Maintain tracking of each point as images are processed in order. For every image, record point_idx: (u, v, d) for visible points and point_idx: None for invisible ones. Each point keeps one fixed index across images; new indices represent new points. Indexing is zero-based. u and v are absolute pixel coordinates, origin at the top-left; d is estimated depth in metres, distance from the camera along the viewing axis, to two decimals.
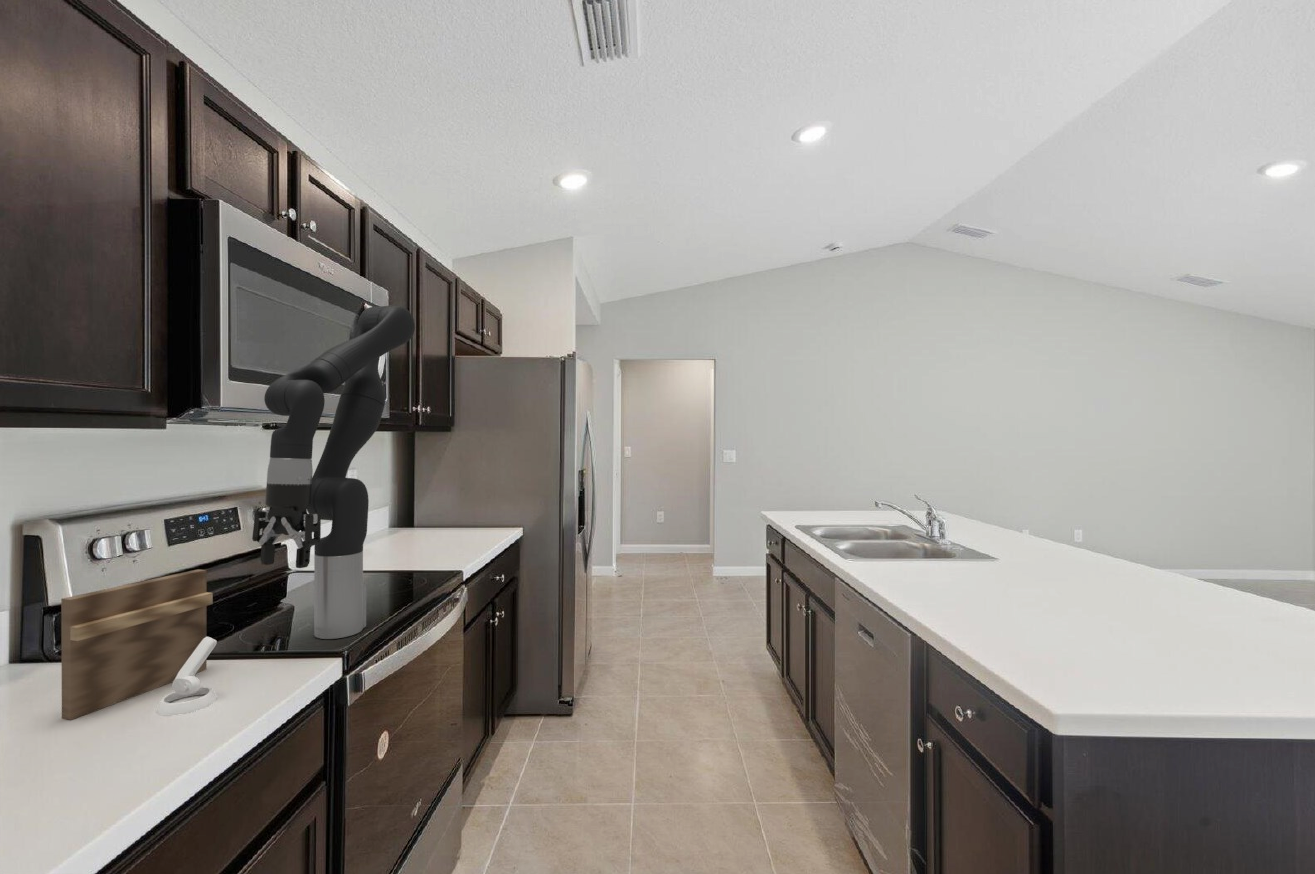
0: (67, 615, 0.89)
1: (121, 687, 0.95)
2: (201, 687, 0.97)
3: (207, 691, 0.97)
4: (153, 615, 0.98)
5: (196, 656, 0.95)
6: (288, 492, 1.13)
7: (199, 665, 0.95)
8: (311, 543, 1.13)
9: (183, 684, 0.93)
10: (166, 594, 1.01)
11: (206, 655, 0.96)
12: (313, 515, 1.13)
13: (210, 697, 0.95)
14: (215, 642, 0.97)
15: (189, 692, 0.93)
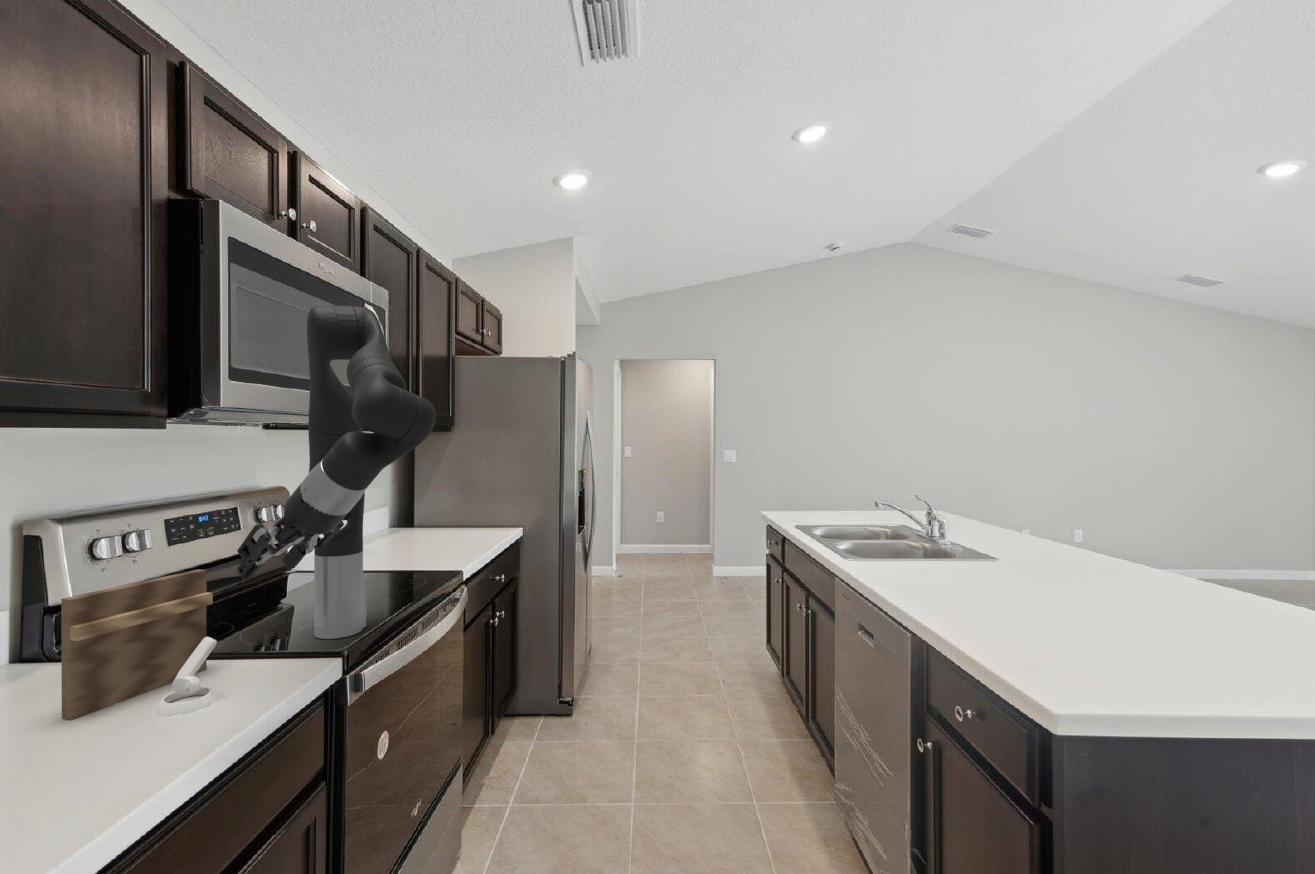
0: (67, 615, 0.89)
1: (121, 687, 0.95)
2: (201, 687, 0.97)
3: (207, 691, 0.97)
4: (153, 615, 0.98)
5: (196, 656, 0.95)
6: None
7: (199, 665, 0.95)
8: None
9: (183, 684, 0.93)
10: (166, 594, 1.01)
11: (206, 655, 0.96)
12: None
13: (210, 697, 0.95)
14: (215, 642, 0.97)
15: (189, 692, 0.93)
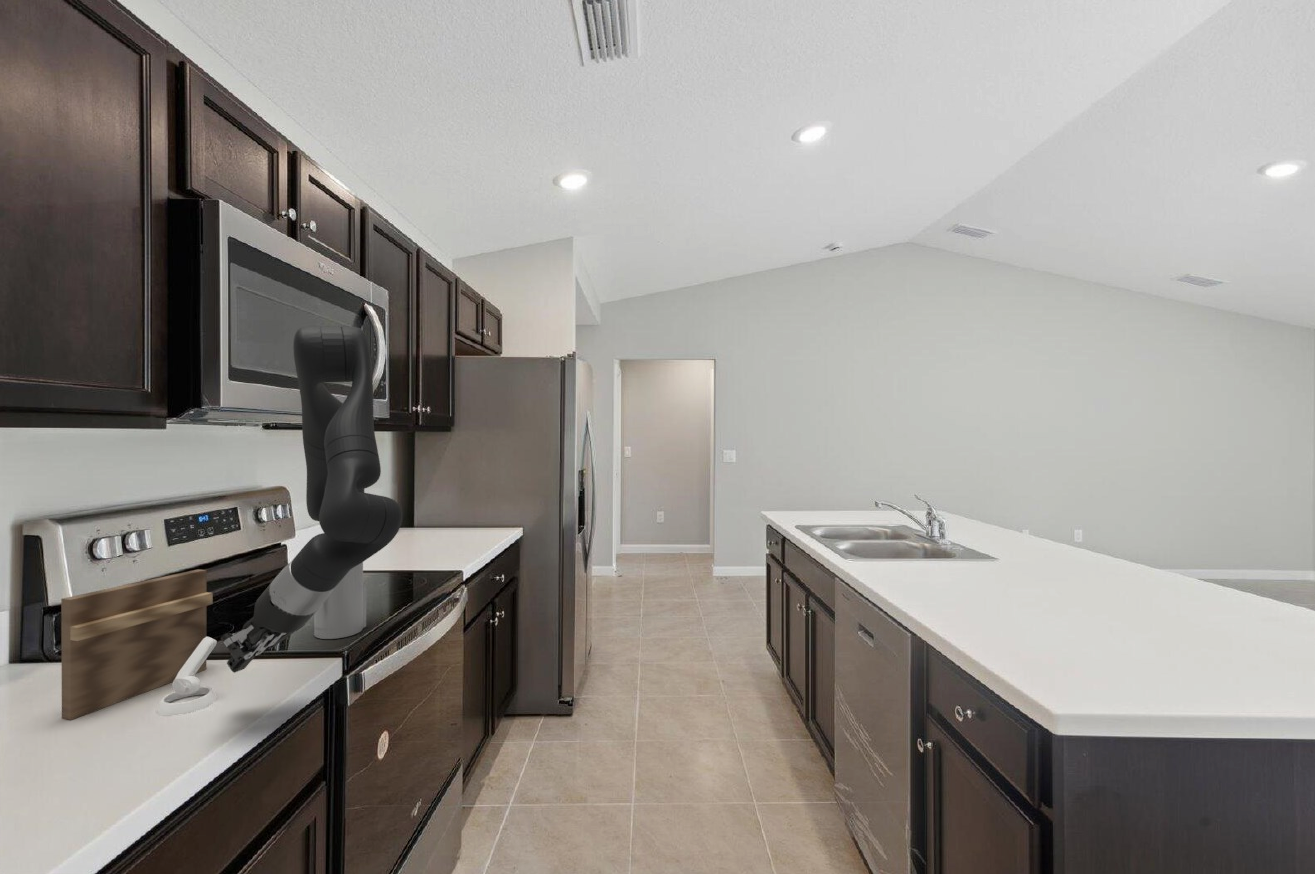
0: (67, 615, 0.89)
1: (121, 687, 0.95)
2: (201, 687, 0.97)
3: (207, 691, 0.97)
4: (153, 615, 0.98)
5: (196, 656, 0.95)
6: None
7: (199, 665, 0.95)
8: None
9: (183, 684, 0.93)
10: (166, 594, 1.01)
11: (206, 655, 0.96)
12: None
13: (210, 697, 0.95)
14: (215, 642, 0.97)
15: (189, 692, 0.93)
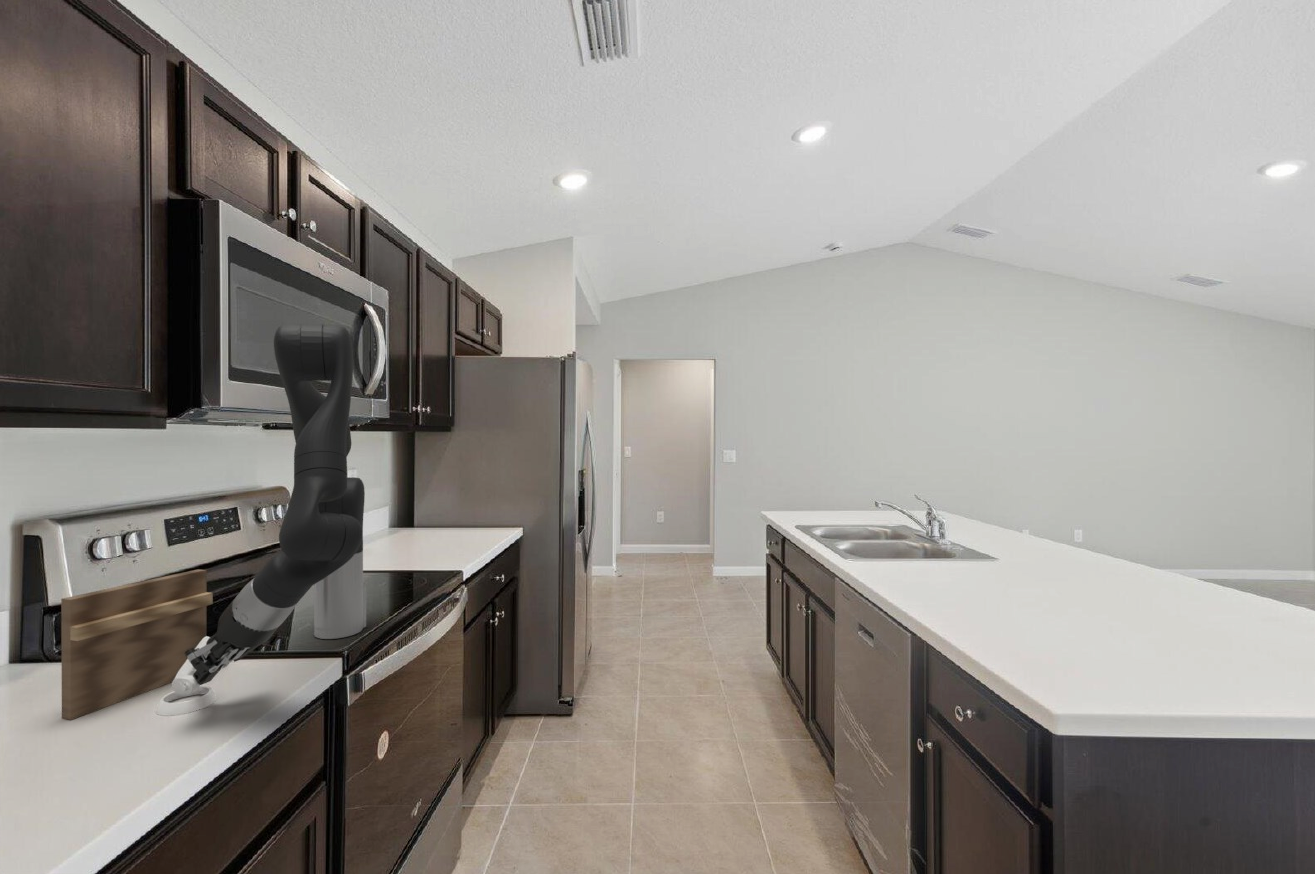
0: (67, 615, 0.89)
1: (121, 687, 0.95)
2: (201, 687, 0.97)
3: (207, 691, 0.97)
4: (153, 615, 0.98)
5: None
6: None
7: None
8: None
9: (183, 684, 0.93)
10: (166, 594, 1.01)
11: None
12: None
13: (210, 697, 0.95)
14: None
15: (189, 692, 0.93)
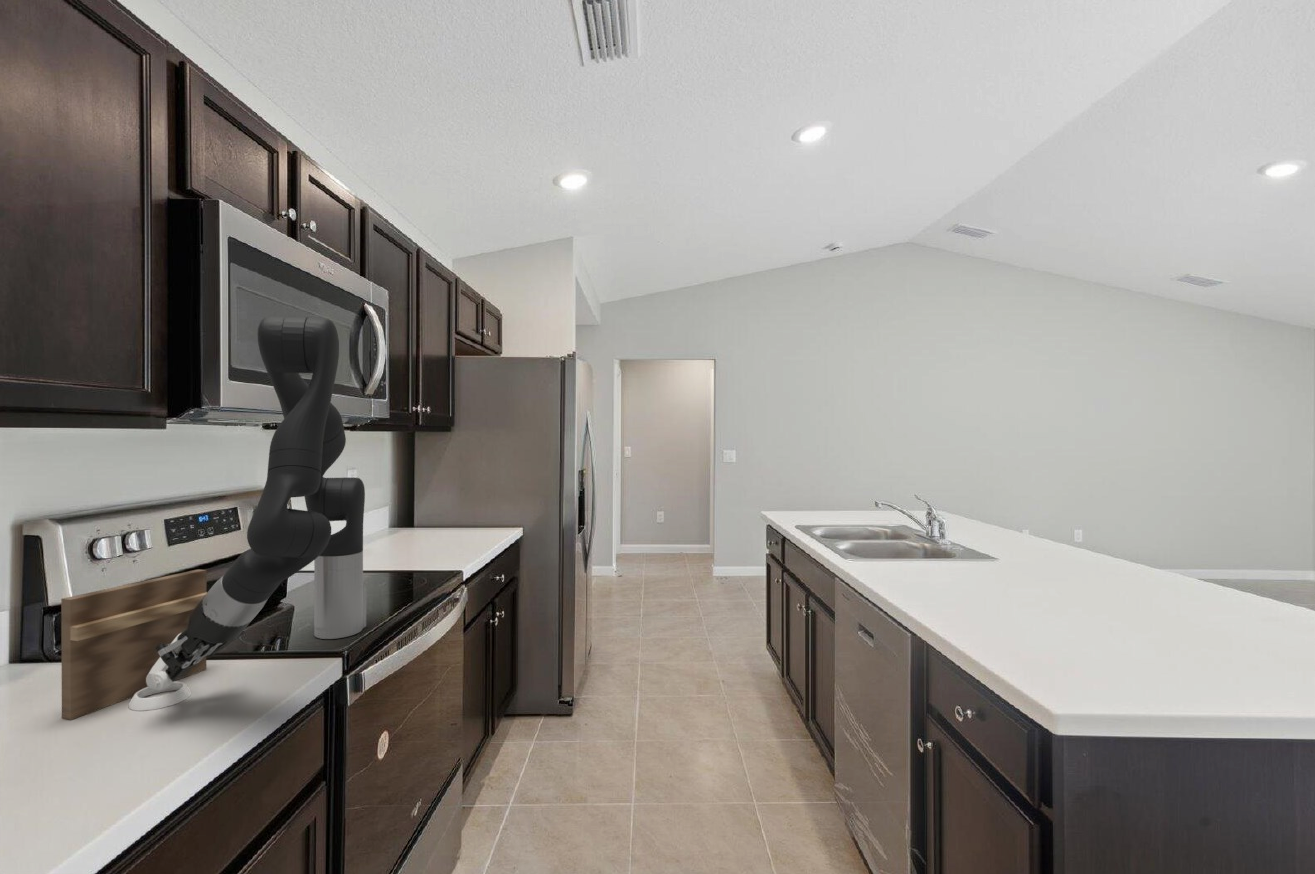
0: (67, 615, 0.89)
1: (121, 687, 0.95)
2: (176, 682, 0.99)
3: (181, 687, 0.98)
4: (153, 615, 0.98)
5: None
6: None
7: None
8: None
9: (155, 679, 0.94)
10: (166, 594, 1.01)
11: None
12: None
13: (182, 693, 0.96)
14: None
15: (160, 687, 0.94)
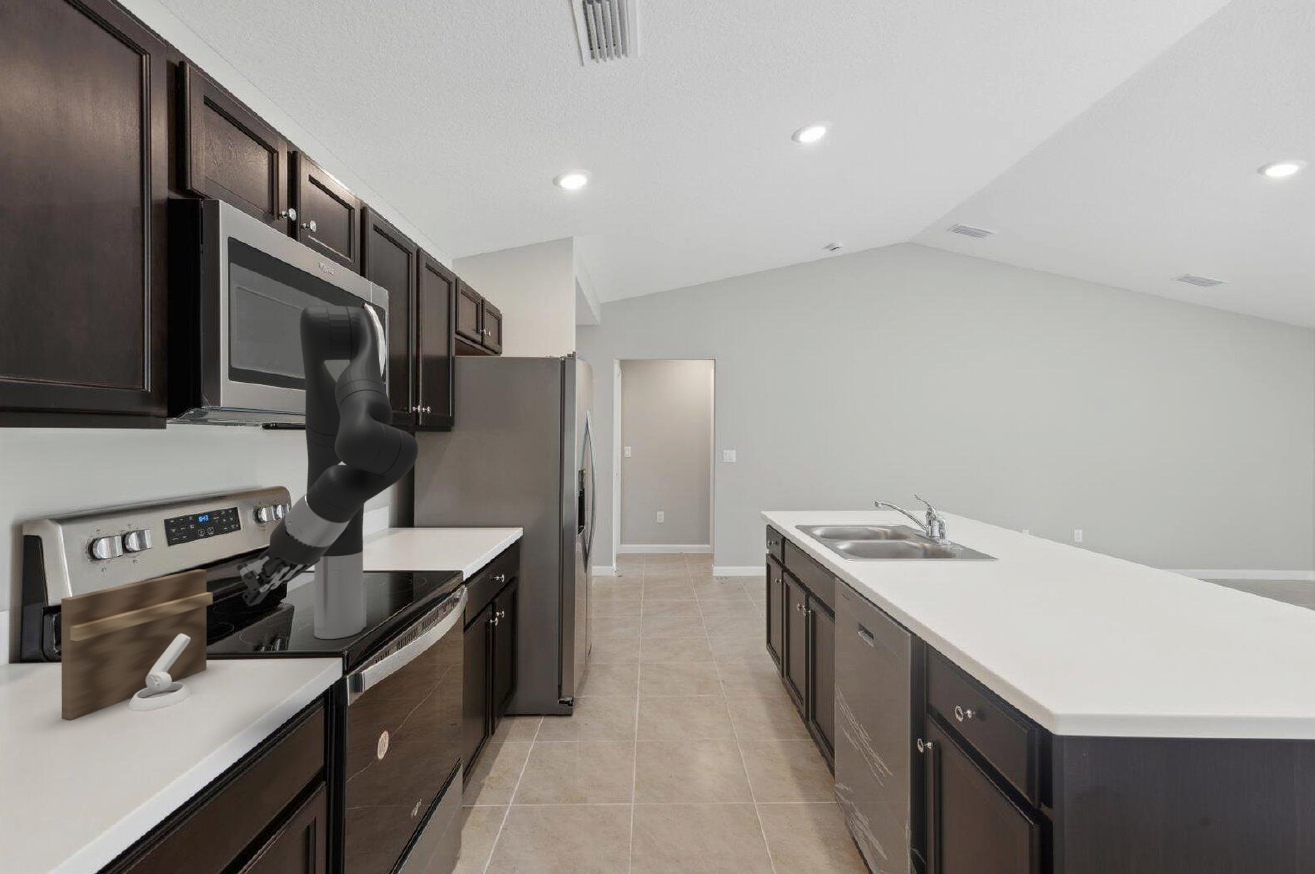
0: (67, 615, 0.89)
1: (121, 687, 0.95)
2: (176, 683, 0.99)
3: (181, 687, 0.98)
4: (153, 615, 0.98)
5: (169, 652, 0.96)
6: None
7: (171, 661, 0.96)
8: None
9: (155, 680, 0.94)
10: (166, 594, 1.01)
11: (179, 652, 0.97)
12: None
13: (182, 694, 0.96)
14: (188, 639, 0.98)
15: (160, 688, 0.94)
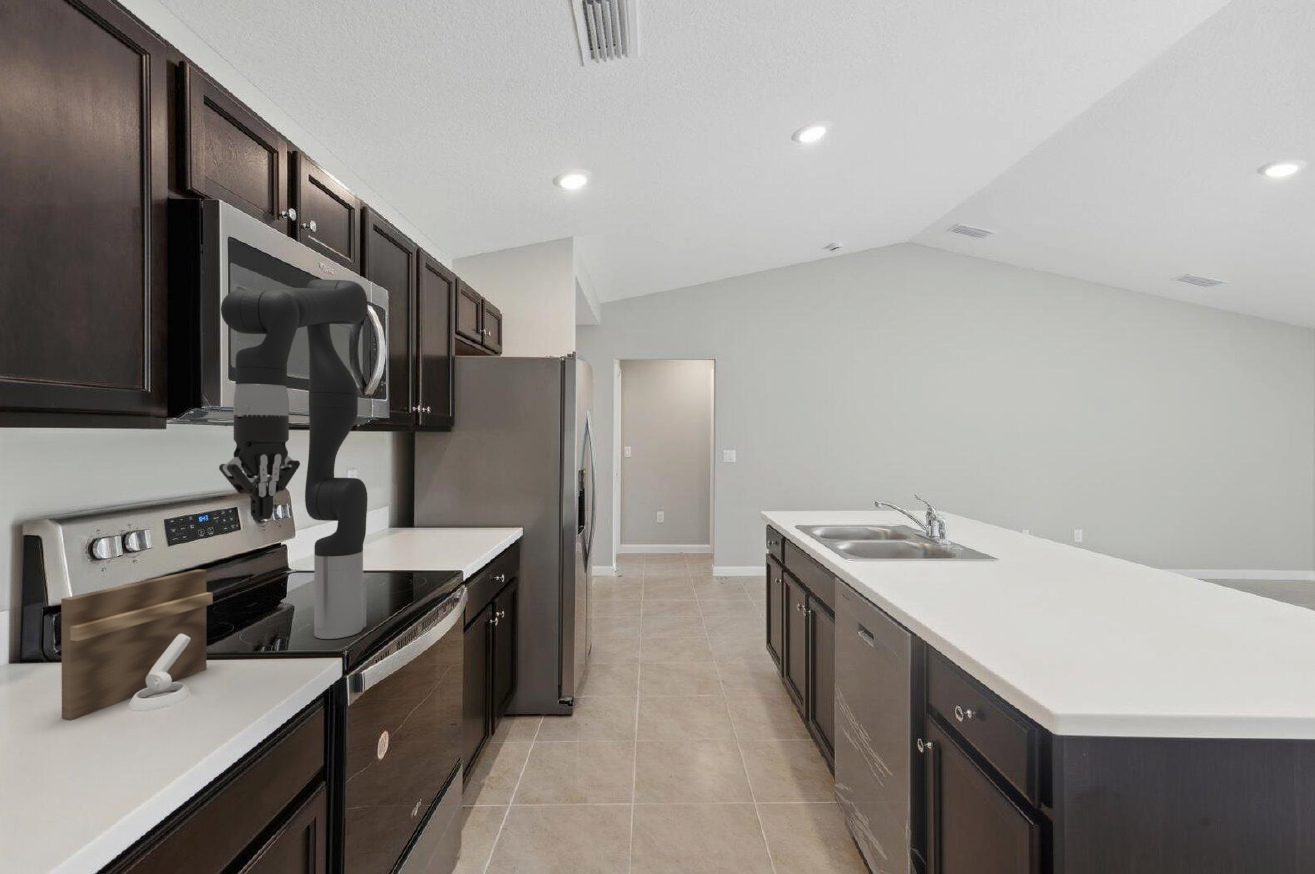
0: (67, 615, 0.89)
1: (121, 687, 0.95)
2: (176, 683, 0.99)
3: (181, 687, 0.98)
4: (153, 615, 0.98)
5: (169, 652, 0.96)
6: (288, 425, 0.99)
7: (171, 661, 0.96)
8: None
9: (155, 680, 0.94)
10: (166, 594, 1.01)
11: (179, 652, 0.97)
12: None
13: (182, 694, 0.96)
14: (188, 639, 0.98)
15: (160, 688, 0.94)
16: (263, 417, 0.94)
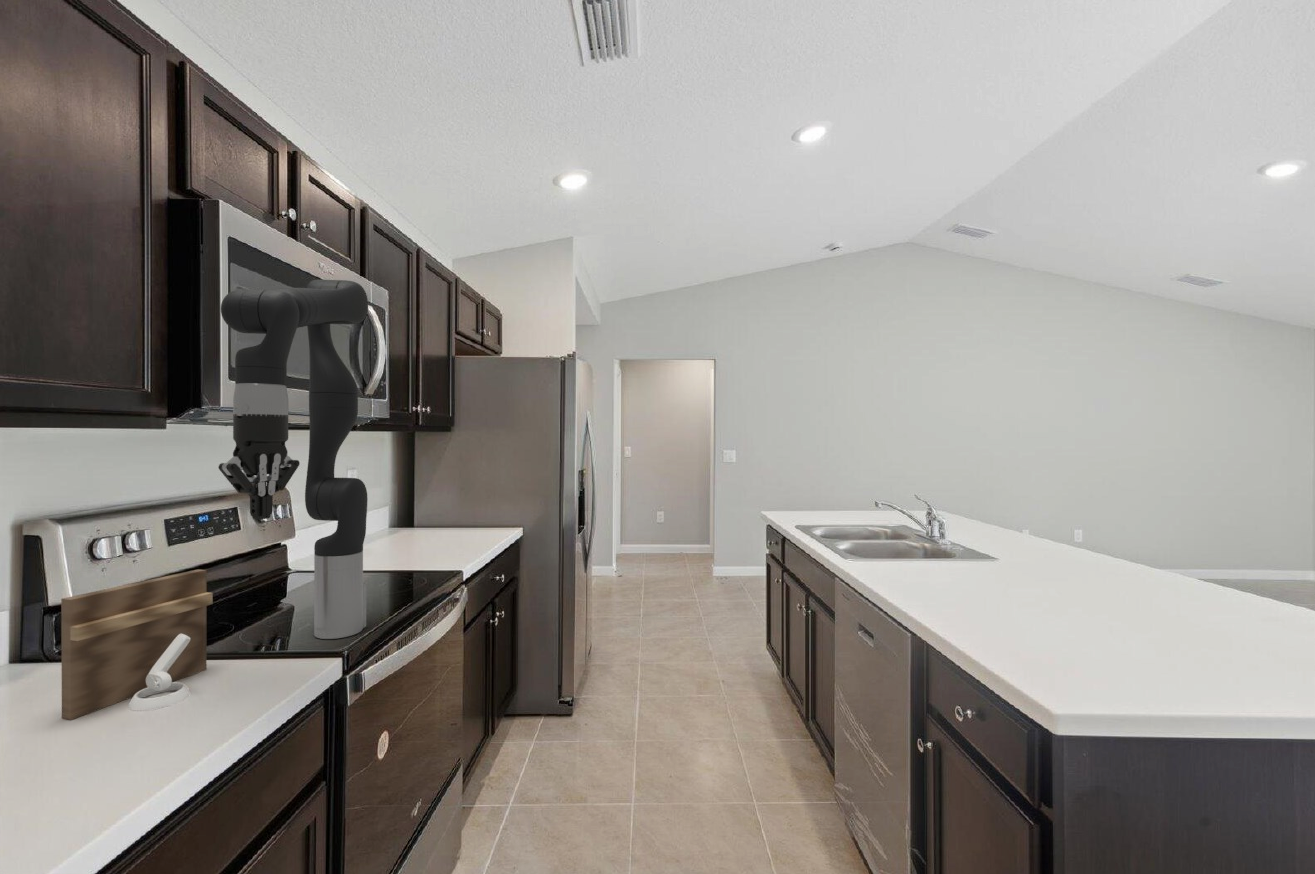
0: (67, 615, 0.89)
1: (121, 687, 0.95)
2: (176, 683, 0.99)
3: (181, 687, 0.98)
4: (153, 615, 0.98)
5: (169, 652, 0.96)
6: None
7: (171, 661, 0.96)
8: None
9: (155, 680, 0.94)
10: (166, 594, 1.01)
11: (179, 652, 0.97)
12: None
13: (182, 694, 0.96)
14: (188, 639, 0.98)
15: (160, 688, 0.94)
16: (263, 416, 0.94)
